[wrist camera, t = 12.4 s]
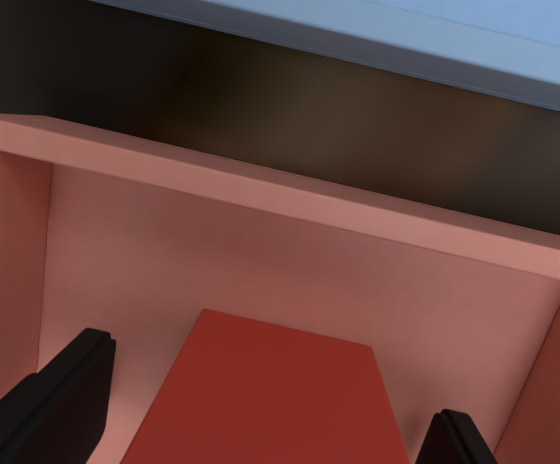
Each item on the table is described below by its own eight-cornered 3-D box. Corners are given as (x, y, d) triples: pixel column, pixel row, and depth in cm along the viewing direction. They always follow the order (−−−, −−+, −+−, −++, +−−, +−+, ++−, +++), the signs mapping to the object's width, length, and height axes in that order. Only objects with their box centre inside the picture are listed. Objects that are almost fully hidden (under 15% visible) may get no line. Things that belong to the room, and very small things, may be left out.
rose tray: (19, 493, 13) (-45, 576, 11) (44, 115, 10) (-38, 111, 8) (439, 587, 13) (471, 690, 11) (596, 243, 10) (689, 279, 8)
